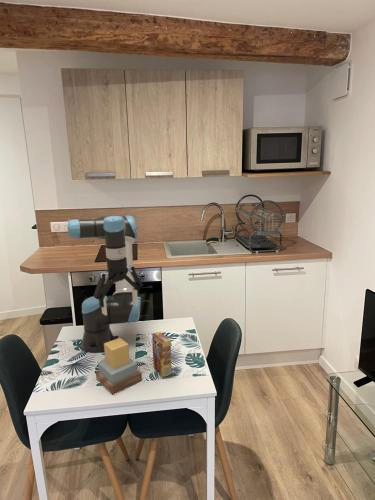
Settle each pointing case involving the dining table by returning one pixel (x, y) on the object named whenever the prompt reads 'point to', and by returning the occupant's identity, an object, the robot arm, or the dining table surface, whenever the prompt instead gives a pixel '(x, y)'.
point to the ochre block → (116, 353)
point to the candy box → (161, 354)
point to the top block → (117, 371)
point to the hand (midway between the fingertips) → (120, 309)
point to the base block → (121, 384)
